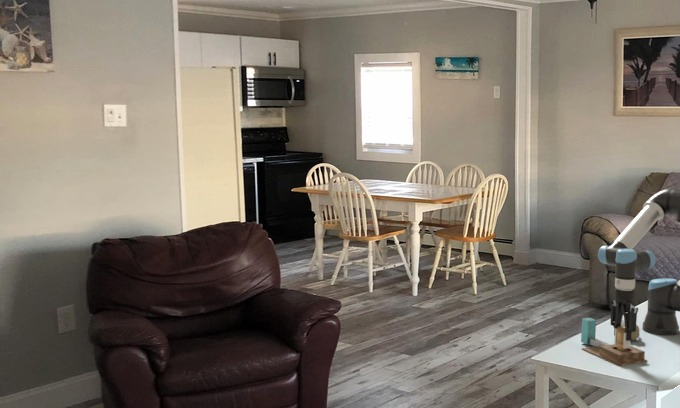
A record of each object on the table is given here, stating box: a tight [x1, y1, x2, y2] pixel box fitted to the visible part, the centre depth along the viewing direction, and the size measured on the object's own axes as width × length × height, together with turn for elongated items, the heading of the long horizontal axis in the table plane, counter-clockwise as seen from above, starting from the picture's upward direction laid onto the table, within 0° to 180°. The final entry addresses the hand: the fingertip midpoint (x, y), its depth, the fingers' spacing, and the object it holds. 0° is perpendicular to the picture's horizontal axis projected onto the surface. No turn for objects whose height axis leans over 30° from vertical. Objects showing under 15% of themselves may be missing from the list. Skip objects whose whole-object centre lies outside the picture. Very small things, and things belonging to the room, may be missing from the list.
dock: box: [581, 343, 648, 367], centre depth 325 cm, size 14×22×4 cm, turn 22°
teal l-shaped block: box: [580, 317, 616, 350], centre depth 333 cm, size 4×18×10 cm, turn 22°
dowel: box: [617, 327, 627, 352], centre depth 320 cm, size 4×4×12 cm
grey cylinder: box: [621, 319, 640, 342], centre depth 348 cm, size 11×8×8 cm
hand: (622, 346), depth 320 cm, fingers open, 4 cm apart
